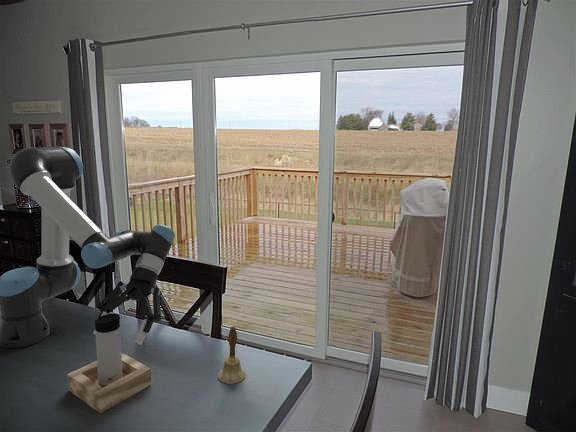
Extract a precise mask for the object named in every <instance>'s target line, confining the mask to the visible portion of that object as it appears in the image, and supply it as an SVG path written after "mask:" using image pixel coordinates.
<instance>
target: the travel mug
mask: <svg viewBox="0 0 576 432" xmlns="http://www.w3.org/2000/svg"><path fill="white" fill-rule="evenodd" d="M120 320H121V316H120V314H118V313H109V314H106V315H103V316H101V317H100V318H98V317H97V319H95V320H94V327H95V328H94V330H95V334H94V335H95V348H96V349H95V350H96V361H97V369H98V384H99V385H100V386H101V387H105V386H107V385H109V384H111V383H113V382H115V381H117V380H119V379H121V378H123V376H122V355H121V352H122V337H121V335H122V334H121V323H120V322H121V321H120Z"/></svg>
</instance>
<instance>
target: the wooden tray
mask: <svg viewBox="0 0 576 432" xmlns="http://www.w3.org/2000/svg"><path fill="white" fill-rule="evenodd" d="M121 355H122V372H123V373H125V374H127V375H126V376H124V377H123V378H121V379H119V380H117V381H115V382H113V383H111V384H109V385H107V386H105V387H101V386H100V385H98V384H97V383H95V382H94V381H92V380H93V379H95V378H97V377H98V369H97V360H95V361H93V362H91V363H89V364H87V365H85V366H82V367H80V368H78V369H76V370H74V371H71V372H69V373H67V385H68V391H69V392H70V393H72V394H73V395H75V396H76V397H77V398H78V399H80V400H82V401H83V402H84V403H85V404H87V405H88V406H89V407H91V408H92V409H93V410H95V411H96V412H97V413H99V414H100V415H101V414H102V413H104V412H106V411H108V410H109V409H111V408H113V407H115V406H116V405H118V404H120V403H122V402H124V401H125V400H127V399H128V398H130V397H133V395H135V394H138V393H139V392H141V391H143V390H144V389H146V388H147V387H149V386H151V385H152V368H150V367H149V366H147V365H145V364H143V363H141V362H140V361H138V360H136V359H134V358H133V357H131V356H129V355H127V354H126V353H123V352H122V351H121Z"/></svg>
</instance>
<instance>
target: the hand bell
mask: <svg viewBox="0 0 576 432" xmlns="http://www.w3.org/2000/svg"><path fill="white" fill-rule="evenodd" d="M227 336H228V341H227V342H228V344H229V345H228V346H229V354H228V355H229V356H227V357H226V358H225V359H224V362H223V366H222V369H220V370H219V372H218V374H217V379H218V380H219V381H220V382H221V383H224V384H225V385H226V384H227V385H235V383H236V384H239V383H241V382H242V380H243V379H244V380H245V379H246V376H245V375H246V371H244V369H243V368H242V367H241V361H240V358H239V357H238V356H237V355H236V345H237V341H238V333H237V329H236V327H235V326H231V327H230V330H229V332H228V335H227ZM244 380H243V381H244ZM238 382H239V383H238Z"/></svg>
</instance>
